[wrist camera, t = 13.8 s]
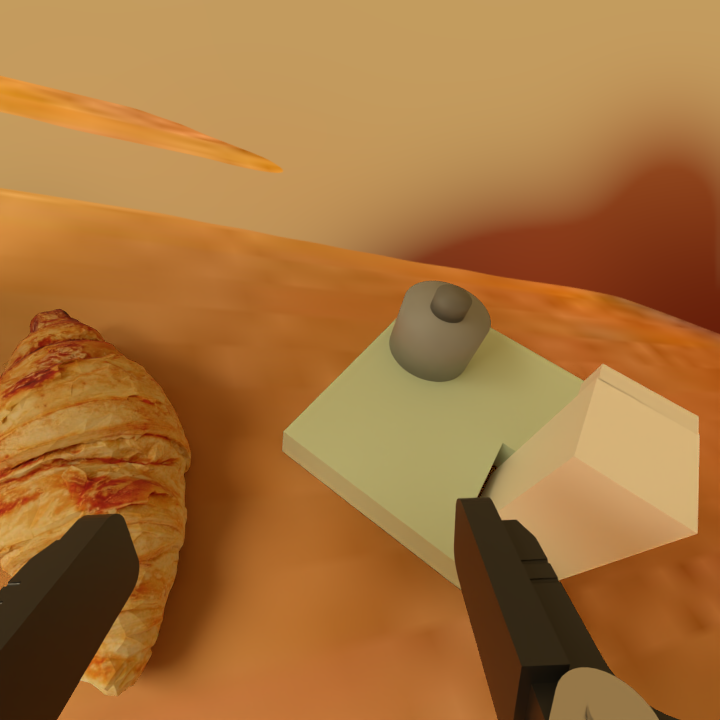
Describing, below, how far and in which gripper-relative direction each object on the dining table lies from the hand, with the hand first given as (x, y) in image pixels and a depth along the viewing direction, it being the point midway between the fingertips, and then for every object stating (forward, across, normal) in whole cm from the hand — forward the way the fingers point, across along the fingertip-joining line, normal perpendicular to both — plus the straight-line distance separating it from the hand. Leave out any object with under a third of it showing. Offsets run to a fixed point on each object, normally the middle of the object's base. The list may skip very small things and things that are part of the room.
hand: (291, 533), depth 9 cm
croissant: (+10, +14, +6) cm, 18 cm away
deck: (+16, -8, +8) cm, 20 cm away
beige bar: (+11, -10, +11) cm, 19 cm away
